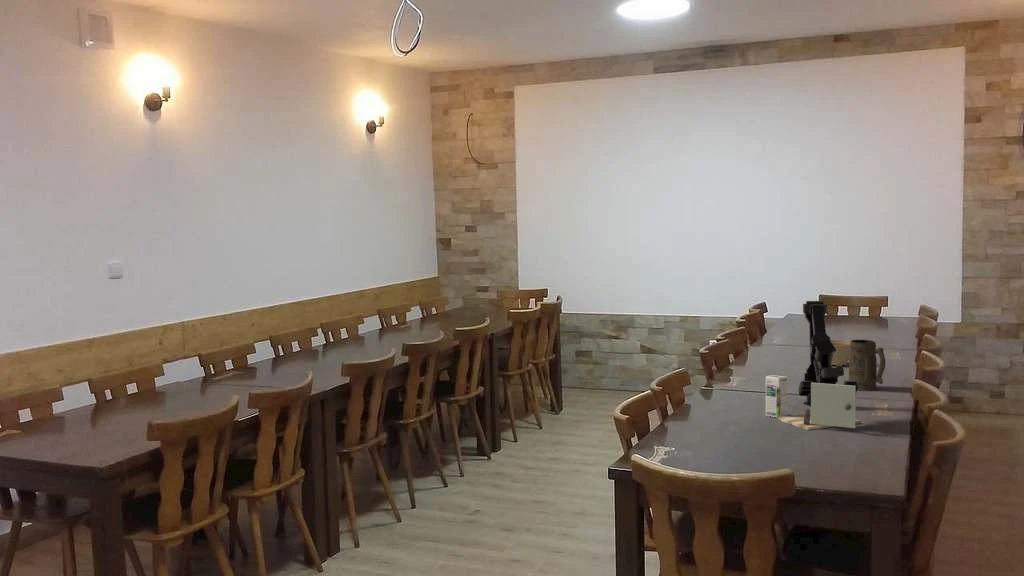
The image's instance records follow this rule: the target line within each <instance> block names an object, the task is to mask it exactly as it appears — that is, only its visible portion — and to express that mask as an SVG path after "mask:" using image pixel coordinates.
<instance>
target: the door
mask: <svg viewBox="0 0 1024 576" xmlns="http://www.w3.org/2000/svg"><path fill="white" fill-rule="evenodd" d="M856 395H857V392H856V386H850V385H844V384H837V383H836V384H824V383H811V405H810V413H811V424H818V425H828V426H836V427H838V428H840V427H841V428H849V429H856V424H855V419H856V413H857V412H856V411H857V410H856V400H857V399H856Z"/></svg>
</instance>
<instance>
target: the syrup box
mask: <svg viewBox="0 0 1024 576" xmlns="http://www.w3.org/2000/svg"><path fill="white" fill-rule="evenodd" d="M770 416H771V417H772V418H775V417H776V418H777V419H778V417H782V416H788V376H782V375H775V374H773V375H772V374H771V375H766V376H765V417H770ZM771 417H770V418H771Z"/></svg>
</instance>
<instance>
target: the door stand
mask: <svg viewBox="0 0 1024 576" xmlns="http://www.w3.org/2000/svg"><path fill="white" fill-rule="evenodd" d="M777 420H778V421H780V420H781V422H783V423H786V424H789V425H791V424H792V426H794V425H795V426H794V427H797V428H800V429H803V430H806V431H809V430H810V431H811V429H812V430H818V429H828V428H834V427H835V426H828V425H818V424H811V409H810V408H804V409H803V413H802V414H801V413H798V414H791V415H787V416H782V417H778V418H777ZM861 423H862V421H861V420H860V419H858V418H855V425H858V424H861ZM827 427H828V428H827Z"/></svg>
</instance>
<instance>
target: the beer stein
mask: <svg viewBox="0 0 1024 576" xmlns="http://www.w3.org/2000/svg"><path fill="white" fill-rule="evenodd" d="M850 341H851V342H850V357H849V360H848V366H849V367H848V381H856V382H857V383H858V390H857V391H861V390H867V391H866V392H868V390H870V391H875V390H877V388H878V387H877V383H878V384H880V385H882V384H883V383H884V380H883V374H884V372H885V369H886V357H885V354H884V347H878V348H877V344H876V341H874V340H870V339H869V340H868V339H852V340H850ZM876 355H878V356H879V366H878V371H877V364H878V363H877V356H876Z"/></svg>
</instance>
